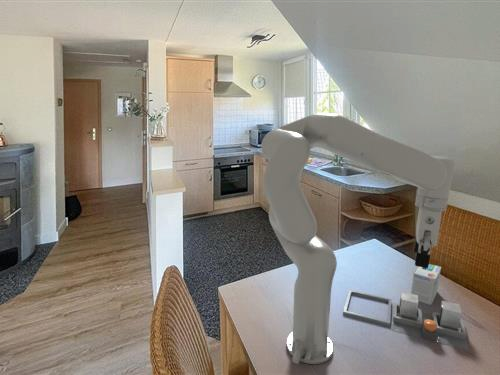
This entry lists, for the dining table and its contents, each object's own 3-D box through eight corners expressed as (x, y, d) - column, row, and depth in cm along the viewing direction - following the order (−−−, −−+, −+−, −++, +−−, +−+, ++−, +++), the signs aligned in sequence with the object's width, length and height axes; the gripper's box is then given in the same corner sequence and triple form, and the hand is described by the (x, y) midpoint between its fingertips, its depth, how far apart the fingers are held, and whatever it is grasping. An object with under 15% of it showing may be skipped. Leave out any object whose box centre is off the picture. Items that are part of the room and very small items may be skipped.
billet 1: (415, 323, 96) (418, 303, 94) (398, 319, 98) (400, 299, 96) (414, 315, 100) (417, 295, 98) (398, 311, 102) (400, 291, 100)
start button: (436, 333, 88) (437, 328, 88) (423, 329, 90) (424, 324, 89) (435, 326, 91) (436, 321, 91) (423, 323, 93) (423, 318, 92)
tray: (389, 329, 95) (390, 323, 95) (342, 317, 101) (343, 311, 100) (390, 304, 107) (391, 299, 107) (349, 294, 113) (349, 289, 112)
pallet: (468, 353, 86) (471, 342, 85) (391, 333, 94) (393, 323, 93) (461, 324, 97) (462, 314, 96) (393, 308, 105) (394, 299, 104)
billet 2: (457, 334, 92) (461, 313, 90) (438, 329, 94) (442, 308, 92) (455, 324, 96) (459, 304, 94) (437, 320, 98) (440, 300, 96)
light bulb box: (416, 287, 117) (420, 260, 115) (437, 294, 113) (441, 266, 110) (409, 301, 109) (413, 272, 107) (431, 308, 105) (436, 279, 102)
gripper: (450, 212, 78) (438, 276, 82) (443, 197, 93) (433, 251, 97) (416, 207, 81) (405, 269, 85) (415, 193, 96) (406, 246, 100)
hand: (420, 259), depth 91 cm, fingers open, 9 cm apart
